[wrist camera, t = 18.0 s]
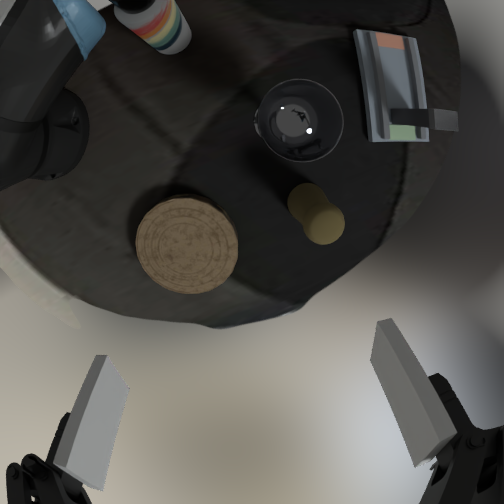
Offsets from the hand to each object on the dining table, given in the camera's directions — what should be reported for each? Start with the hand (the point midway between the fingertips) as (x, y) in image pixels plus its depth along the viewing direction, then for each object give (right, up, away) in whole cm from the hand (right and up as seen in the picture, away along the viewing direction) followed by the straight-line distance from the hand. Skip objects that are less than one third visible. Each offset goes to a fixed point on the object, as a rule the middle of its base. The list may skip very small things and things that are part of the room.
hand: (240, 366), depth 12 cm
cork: (+9, +13, +30) cm, 34 cm away
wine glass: (+4, +24, +24) cm, 34 cm away
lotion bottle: (-11, +36, +18) cm, 41 cm away
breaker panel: (+22, +31, +21) cm, 44 cm away
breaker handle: (+23, +26, +22) cm, 41 cm away
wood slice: (-10, +7, +32) cm, 34 cm away
